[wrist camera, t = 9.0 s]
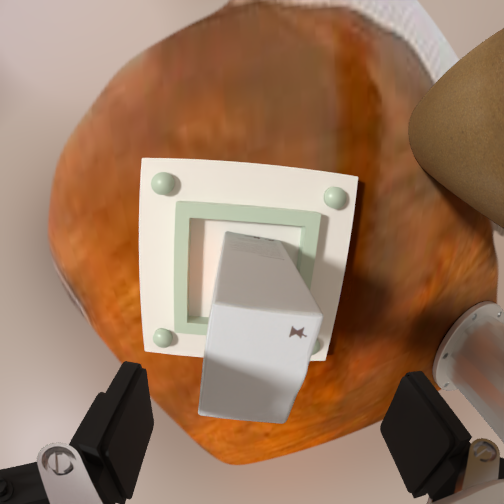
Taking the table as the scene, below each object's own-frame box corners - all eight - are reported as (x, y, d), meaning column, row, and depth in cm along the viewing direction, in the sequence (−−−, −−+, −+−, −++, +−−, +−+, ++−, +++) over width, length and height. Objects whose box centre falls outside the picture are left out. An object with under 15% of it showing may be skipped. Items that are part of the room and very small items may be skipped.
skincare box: (223, 229, 22) (211, 296, 10) (281, 239, 22) (330, 313, 10) (211, 305, 23) (195, 417, 12) (265, 313, 23) (289, 426, 12)
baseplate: (351, 176, 22) (364, 177, 20) (321, 351, 27) (328, 368, 24) (147, 158, 21) (136, 157, 19) (148, 342, 25) (141, 358, 23)
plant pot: (365, 209, 23) (517, 269, 8) (372, 45, 19) (492, -38, 4) (480, 227, 24) (598, 273, 9) (486, 94, 21) (600, 82, 5)
